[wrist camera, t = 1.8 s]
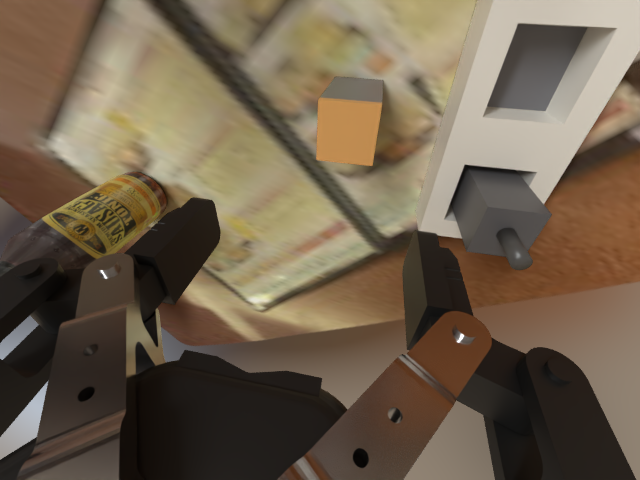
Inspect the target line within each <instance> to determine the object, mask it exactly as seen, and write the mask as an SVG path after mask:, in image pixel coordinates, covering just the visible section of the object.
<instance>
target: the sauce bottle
mask: <svg viewBox="0 0 640 480" xmlns="http://www.w3.org/2000/svg"><path fill="white" fill-rule="evenodd" d="M166 205H167V200H166V196H165V194H164V192H163V190H162V189H161V187H160V186H159V185H158V184H157V183H156V181H154V180H153V179H151V178H149V177H148V176H146V175H144V174H142V173H139V172H128V173H125V174H123V175H118V176H116V177H114V178H113V179H111V180H109V181H107V182H105V183H104V184H102V185H100V186H98V187H96V188H95V189H93V190H91V191H89V192H87V193H85V194H84V195H82V196H80V197H78V198H76V199H75V200H73V201H71V202H69V203H68V204H66V205H64V206H62V207H61V208H59V209H57V210H55V211H53V212H52V213H50V214H48V215H46V216H45V217H43V218H41V219H40V220H38V221H37V222H35V223H34V224H32V225H30V226H29V227H27V228H26V229H24V230H23V231H21V232H20V233H18V234H16V235H15V236H13V237H12V238H11V239H9V240H8V242H7V245H6V247H5V249H4V251H3V254H2V256H1V258H0V277H1V276H2V275H4V274H5V273H6V272H8V271H9V270H10V269H12V268H13V267H15V266H17V265H19V264H21V263H23V262H26V261H29V260H32V259H37V258H53V259H55V260H56V261H57V262H58V263H59V264H60V266H61V267H62V269H63V270H67V269H80V268H86V267H87V266H88V265H89V264H90V263H91V262H93V261H95V260H96V259H98V258H100V257H103V256H106V255H109V254H114V253H116V252H117V251H118V250H119V249H120V248H122V247H123V246H124V245H125V244H126V243H128V242H129V241H130V240H131V239H133V238H134V237H135V236H136V235H137V234H138V233H140V232H141V231H142V230H143V229H144V228H146V227H147V226H148V225H149V224H151V223H152V222H153V221H154V220H156V219H157V218H158V216H159V215H160V214H161V213H162V212H164V210H165V208H166Z"/></svg>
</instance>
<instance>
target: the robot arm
mask: <svg viewBox="0 0 640 480" xmlns="http://www.w3.org/2000/svg"><path fill="white" fill-rule="evenodd" d="M219 240H220V227H219V222H218V218H217V213H216V208H215V204H214V202H213V201H212V200H208V199H201V198H194V197H193V198H191V199H190V200H189V201H187V202H186V203H185V204H184V205H183V206H182V207H181V208H177V209H175V210H173V211H171V212H169V213H167V214H166V215H165V216H164V217H163V218H162V219H161V220H160V221H158V224H157V223H156V224H155V225H154V226H153V227H152V228H151V230H149V231H148V232H147V233H146V234H144V235H143V236H142V237H141V238H140V239H139V240H138V241H137V242H136V243H135V244H134V245H133V246H131V247H130V248H129V249H128V250H127V251H126V252H125V253H124V254H123V253H115V254H109V255H106V256H103V257H100V258H98V259H96V260H95V261H93V262H91V263H90V264H89V265H88V266H87V267H86V268H80V269H67V270H63V269H62V267H61V266H60V264H59V263H58V262H57V261H56V260H55V259H53V258H37V259H32V260H29V261H26V262H23V263H21V264H19V265H17V266H15V267H13V268H12V269H10V270H9V271H8V272H6V273H5V274H4V275H2V276H1V277H0V343H1V342H2V340H3V339H4V338H5V337H6V336H8V335H9V334H10V333H11V332H12V331H13V330H14V329H15V328H16V327H17V326H18V325H19V324H21V323H22V322H23V321H24V320H25V319H26V318H27V317H28V316H29V315H30V316H31V317H32V318H33V319H34V320H35V321H36V322H37V323H38V324H39V325H38V326H37V327H36V328H35V329H34V330H33V331H32V332H31V333H30V334H29V335H28V336H27V337H26V338H25V339H24V340H23V341H22V342H21V343H20V344H19V345H18V346H17V347H16V348H15V349H14V350H13V351H12V352H11V353H9V355H7V356H6V358H4V359H3V360H1V359H0V437H1V435H2V434H3V433H4V432H5V431H6V430H7V428H8V427H9V426H10V425H11V424H12V422H13V421H14V420H15V419H16V418H17V417H18V415H19V414H20V413H21V412H22V411H23V409H24V408H25V407H26V406H27V405H28V403H29V402H30V401H31V400H32V399H33V398H34V396H35V395H36V394H37V393H38V392H39V391H40V389H41V388H42V387H43V386H44V385H45V383H46V382H47V381H48V380H49V381H48V386H47V391H46V395H45V401H44V405H43V411H42V415H41V420H40V425H39V430H38V435H37V437H36V438H35V439H33V440H31V441H30V442H28V443H27V444H25V445H23V446H22V447H20V448H19V449H17V450H15V451H14V452H12V453H10V454H9V455H7V456H6V457H4V458H2V459H1V460H0V480H403V479H404V478H405V476H406V475H407V473H408V472H409V471H410V469H411V468H412V466H413V465H414V463H415V462H416V460H417V458H418V457H419V456H420V454H421V453H422V451H423V450H424V448H425V447H426V445H427V444H428V442H429V440H430V439H431V438H432V436H433V435H434V434H435V432H436V431H437V429H438V427H439V426H440V425H441V423H442V422H443V420H444V419H445V417H446V416H447V414H448V412H449V411H450V410H451V408H452V407H453V405H454V403H455V402H456V400H457V401H459V402H461V403H462V404H464V405H466V406H468V407H470V408H472V409H474V410H475V411H477V412H479V413H481V414H483V415H484V421H485V427H486V432H487V438H488V443H489V449H490V454H491V460H492V465H493V471H494V476H495V480H636V478H635V476H634V474H633V472H632V470H631V468H630V466H629V464H628V462H627V460H626V458H625V456H624V453H623V452H622V449H621V447H620V445H619V443H618V441H617V439H616V437H615V435H614V433H613V431H612V429H611V427H610V425H609V423H608V421H607V418H606V416H605V414H604V412H603V410H602V408H601V406H600V404H599V402H598V400H597V398H596V396H595V394H594V391H593V389H592V387H591V385H590V383H589V381H588V379H587V378H586V376H585V375H584V373H583V372H582V370H581V369H580V368H579V367H578V366H577V365H576V364H575V363H574V362H573V361H571V360H570V359H569V358H567V357H566V356H564V355H563V354H561V353H559V352H557V351H554V350H551V349H548V348H543V347H537V348H533V349H531V350H530V351H529V352H528V353H527V354H525V353H522V352H520V351H518V350H516V349H513V348H511V347H509V346H506V345H504V344H502V343H500V342H498V341H496V340H495V339H493V338H491V335H490V333H489V331H488V329H487V328H486V327H485V325H484V324H483V323H482V322H481V321H479V320H478V319H477V318H475V317H474V316H473V313H472V309H471V306H470V302H469V299H468V295H467V292H466V288H465V285H464V281H463V277H462V274H461V272H460V267H459V263H458V260H457V258H456V257H455V256H454V255H453V253H452V252H451V251H450V250H449V249H448V248H441V247H440V246H439V242H438V237H437V234H436V233H431V232H424V231H418V230H415V231H414V233H413V236H412V239H411V242H410V245H409V248H408V251H407V254H406V257H405V261H404V265H403V292H404V308H405V324H406V341H407V350H410V351H409V352H408V353H407V354H406V355H403V354H402V355H400V356H399V357H398V358H397V359H396V360H395V361H394V362H393V363H392V364H391V365H390V366H389V367H388V368H387V369H386V370H385V371H384V372H383V373H382V374H381V375H380V376H379V377H378V378H377V380H376V381H375V382H374V383H373V384H372V385H371V386H370V387H369V388H368V389H367V390H366V391H365V392H364V393H363V394H362V395H361V396H360V398H359V399H358V400H357V401H356V402H355V403H354V404H353V405H352V406H351V407H350V408H349V409H348V410H347V409H346V407H345V406H344V405H343V404H342V403H341V402H340V401H339V400H337V399H336V398H335V397H334V396H332V395H331V394H330V393H328V392H326V391H324V390H323V389H321V382H322V378H319V377H314V376H309V375H304V374H299V373H295V372H289V371H277V372H260V373H248V372H245V371H243V370H241V369H240V368H238V367H236V366H234V365H232V364H230V363H228V362H226V361H225V360H223V359H221V358H219V357H217V356H212V355H207V354H203V353H198V352H193V351H188V350H185V351H184V353H183V354H182V356H181V357H180V359H179V360H177V361H171V362H167V363H166V362H165V359H164V355H163V348H162V338H161V327H160V316H159V311H158V309H157V307H158V306H159V305H160V304H161V302H163V303H168V304H173V305H175V303H176V302H177V300H178V299H179V298H180V296H181V295H182V293H183V292H184V291H185V289H186V288H187V286H188V285H189V284H190V282H191V281H192V280H193V278H194V277H195V275H196V274H197V273H198V271H199V270H200V268H201V267H202V266H203V264H204V263H205V261H206V260H207V259H208V257H209V256H210V255H211V253H212V252H213V250H214V249H215V248H216V246H217V245H218V243H219Z"/></svg>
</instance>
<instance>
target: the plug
mask: <svg viewBox="0 0 640 480" xmlns="http://www.w3.org/2000/svg"><path fill="white" fill-rule="evenodd" d="M382 98H383V80H375V79H361V78H348V77H335V78H334V79H333V81H332V82H331V83H330V85H329V86H328V87H327V89H326V90H325V91H324V93H323V94H322V95H321V97H320V98H319V99H318V123H317V158H316V160H321V161H331V162H340V163H349V164H358V165H367V166H372V165H373V159H374V153H375V146H376V140H377V134H378V128H379V122H380V115H381V109H382Z"/></svg>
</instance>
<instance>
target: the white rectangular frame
mask: <svg viewBox="0 0 640 480" xmlns="http://www.w3.org/2000/svg"><path fill="white" fill-rule="evenodd" d="M639 51H640V0H477V3H476V6H475V9H474V13H473V16H472V20H471V23H470V26H469V30H468V33H467V37H466V40H465V43H464V47H463V50H462V54H461V57H460V60H459V64H458V67H457V71H456V74H455V77H454V81H453V84H452V88H451V91H450V95H449V98H448V101H447V105H446V108H445V112H444V115H443V118H442V122H441V125H440V129H439V132H438V135H437V139H436V142H435V146H434V149H433V152H432V156H431V159H430V163H429V166H428V169H427V173H426V176H425V180H424V183H423V186H422V190H421V193H420V197H419V200H418V203H417V207H416V210H415V211H416V218H417V224H418V231H424V232H431V233H436V234H437V235H439V236H447V237H454V238H462V239H463V242H464V245H465V248H466V251H467V252H474V253H482V254H489V255H496V256H503V257H507V260H508V262H509V264H510V266H511V267H512V268H513V269H515V270H523V269H526V268H528V267H530V266H531V265H532V263H533V260H532V258H531V257H530V255H529V253H528V252H527V251H528V250H529V248H530V247H531V245H532V244H533V242H534V241H535V239H536V238H537V236H538V235H539V233H540V232H541V230H542V229H543V227H544V226H545V224H546V223H547V221H548V220H549V218H550V217H551V215H552V214H551V213H550V212H549V211H548V209H547V208H546V207H545V206H544V203H545V202H546V200H547V199H548V197H549V195H550V194H551V192H552V191H553V189H554V187H555V186H556V184H557V182H558V181H559V179H560V178H561V176H562V174H563V173H564V171H565V170H566V168H567V166H568V165H569V163H570V162H571V160H572V158H573V157H574V155H575V154H576V152H577V150H578V149H579V147H580V146H581V144H582V142H583V141H584V139H585V137H586V136H587V134H588V133H589V131H590V129H591V128H592V126H593V125H594V123H595V121H596V120H597V118H598V117H599V115H600V113H601V112H602V110H603V109H604V107H605V105H606V104H607V102H608V101H609V99H610V97H611V96H612V94H613V92H614V91H615V89H616V88H617V86H618V84H619V83H620V81H621V80H622V78H623V76H624V75H625V73H626V72H627V70H628V68H629V67H630V65H631V64H632V62H633V60H634V59H635V57H636V56H637V54H638V52H639Z"/></svg>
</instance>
